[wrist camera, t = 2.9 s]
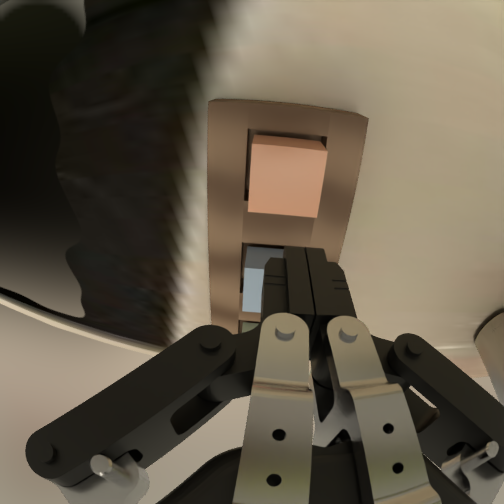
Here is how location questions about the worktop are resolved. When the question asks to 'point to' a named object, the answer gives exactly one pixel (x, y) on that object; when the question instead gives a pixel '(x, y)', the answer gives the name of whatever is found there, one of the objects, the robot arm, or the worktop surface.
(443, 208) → the worktop surface
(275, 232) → the button panel
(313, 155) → the terracotta button
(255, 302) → the slate blue button
